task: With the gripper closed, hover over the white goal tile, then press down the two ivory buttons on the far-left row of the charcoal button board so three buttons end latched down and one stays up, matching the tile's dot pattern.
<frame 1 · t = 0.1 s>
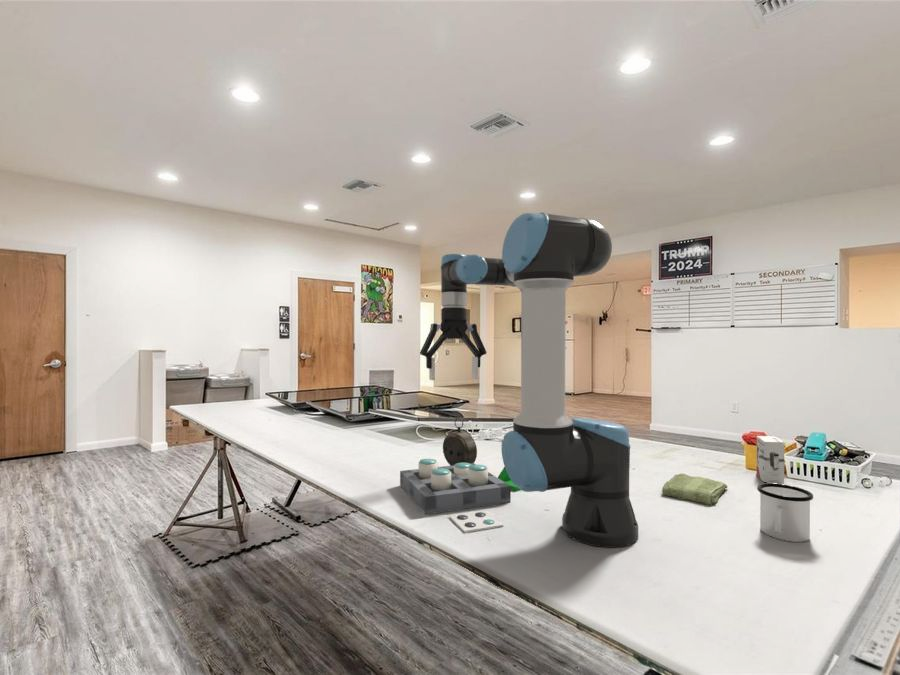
hand: (453, 379, 139), 28 cm above the table, fingers open, 13 cm apart
bracket: (521, 485, 130), on the table
button C: (478, 475, 119), point 5 cm above the table, slide at 0.0 cm
button A: (440, 479, 115), point 5 cm above the table, slide at 0.0 cm
washcloth: (693, 494, 124), on the table
white oval bin: (783, 536, 96), on the table
button B: (428, 469, 124), point 5 cm above the table, slide at 0.0 cm
button board: (452, 493, 122), on the table
goal tile: (475, 521, 103), on the table
ink box: (769, 480, 134), on the table
button D: (462, 472, 128), point 3 cm above the table, slide at -2.0 cm
alarm clock: (458, 472, 142), on the table
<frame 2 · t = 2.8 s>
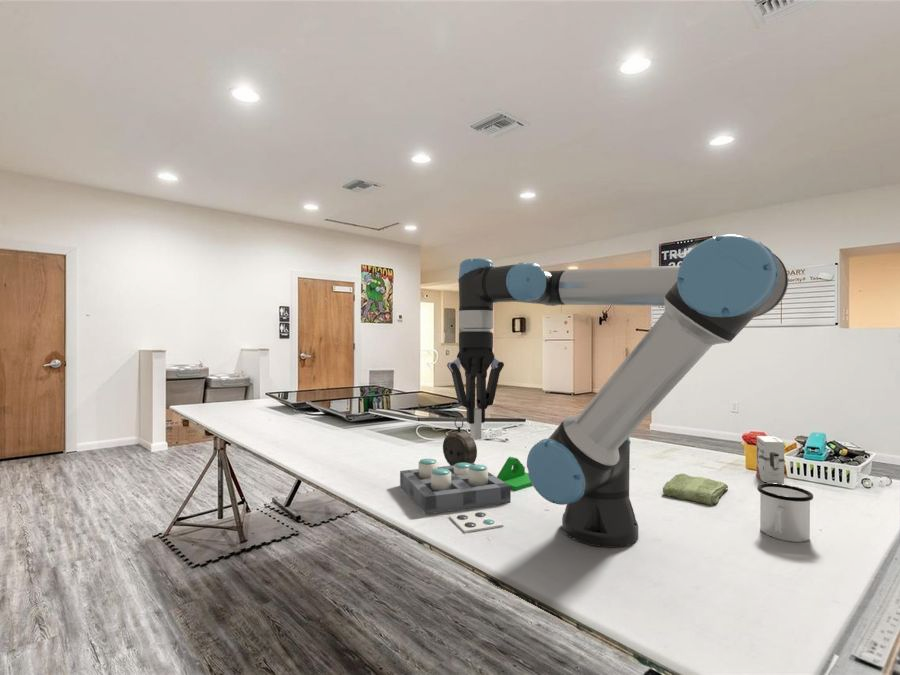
hand: (475, 438, 103), 18 cm above the table, fingers closed
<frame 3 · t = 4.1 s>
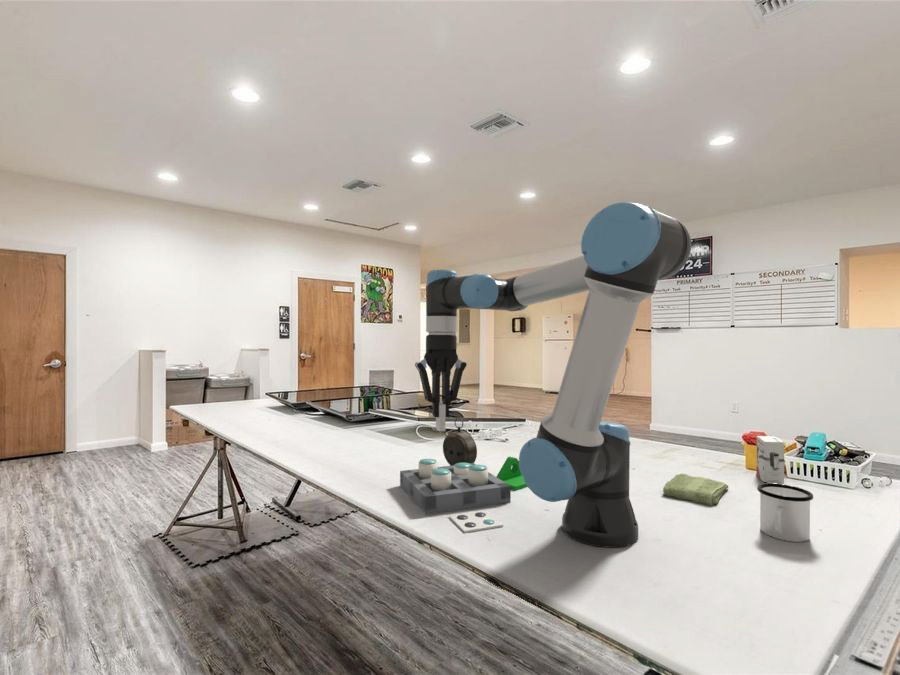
hand: (440, 430, 115), 18 cm above the table, fingers closed
nothing on the table moved.
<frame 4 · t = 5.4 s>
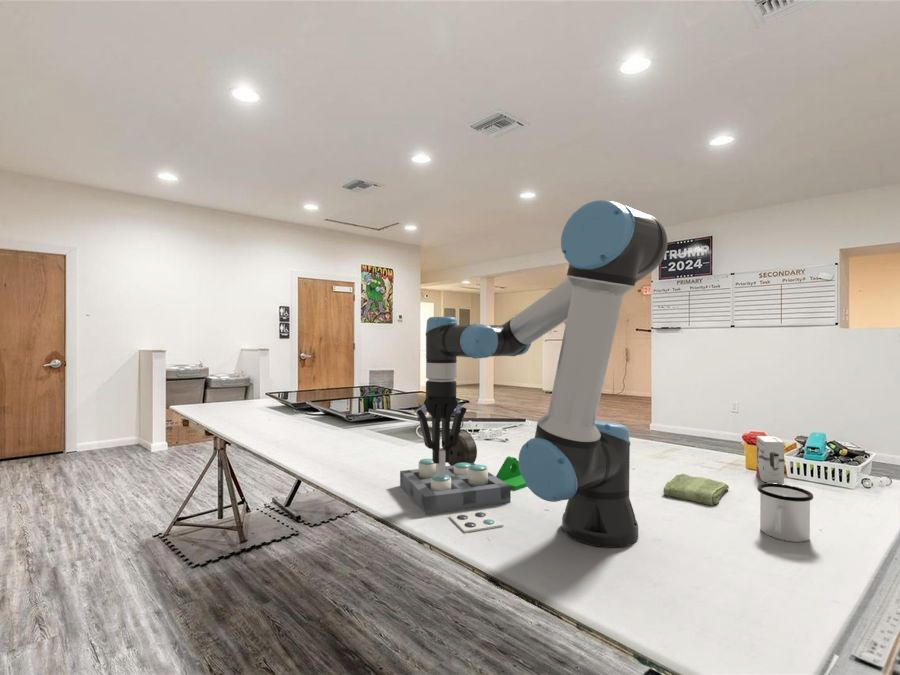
hand: (440, 475, 115), 6 cm above the table, fingers closed
button A: (440, 486, 115), point 4 cm above the table, slide at -1.5 cm, touching gripper
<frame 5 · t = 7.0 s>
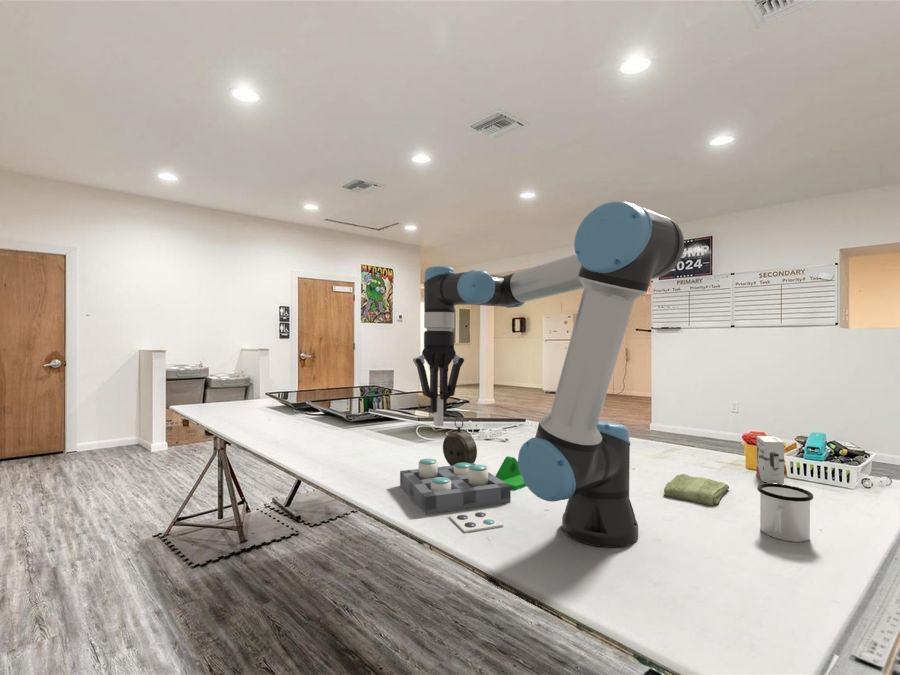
hand: (438, 425, 116), 19 cm above the table, fingers closed
button A: (440, 488, 115), point 3 cm above the table, slide at -2.2 cm
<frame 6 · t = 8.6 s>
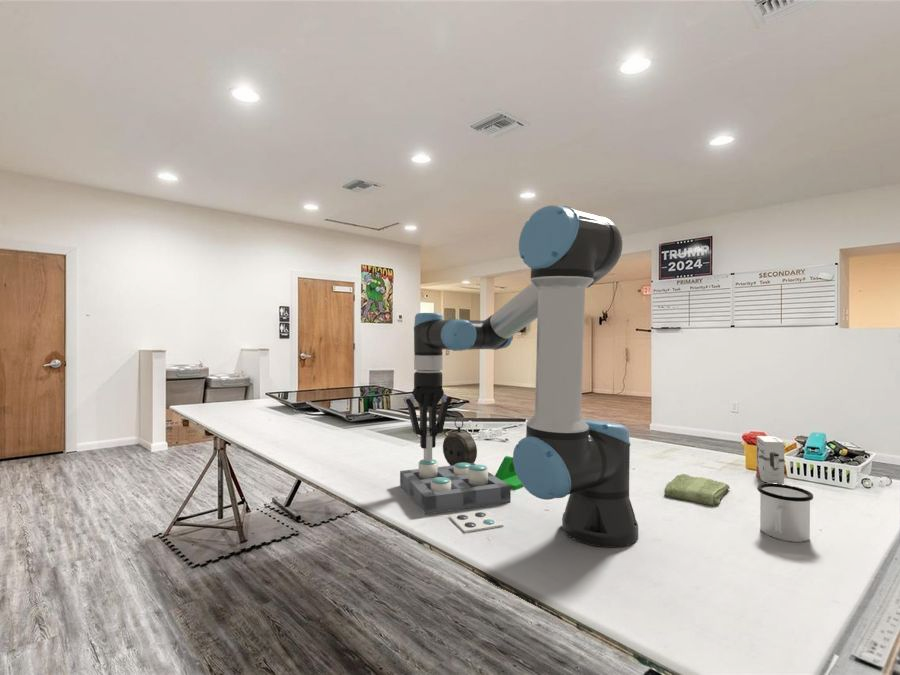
hand: (427, 460, 125), 8 cm above the table, fingers closed
button B: (428, 469, 124), point 5 cm above the table, slide at -0.1 cm, touching gripper
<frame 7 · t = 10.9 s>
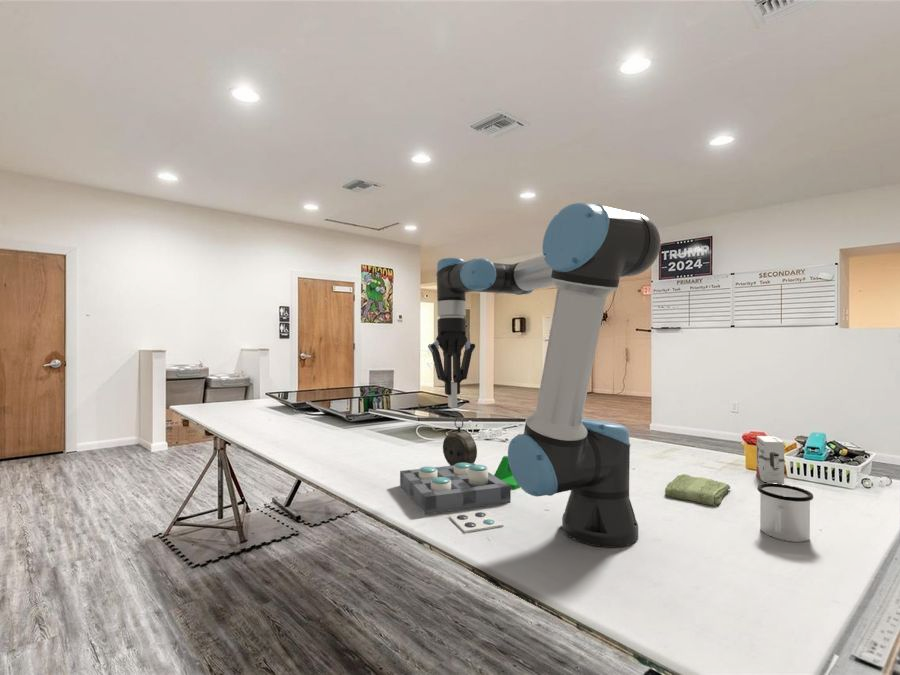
hand: (452, 407, 124), 22 cm above the table, fingers closed
button B: (428, 477, 124), point 3 cm above the table, slide at -2.1 cm
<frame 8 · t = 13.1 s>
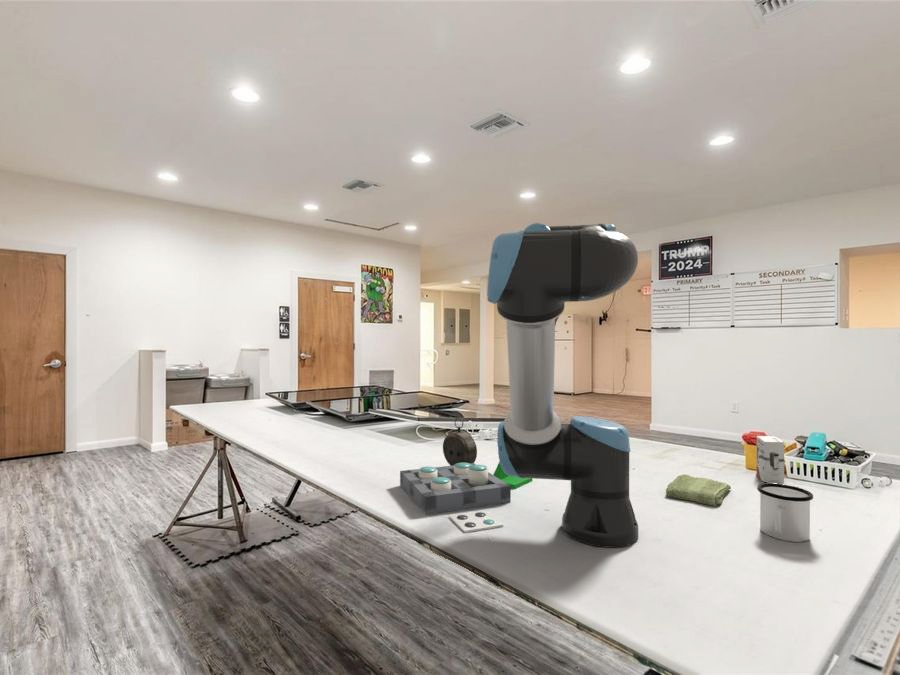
hand: (536, 375, 125), 30 cm above the table, fingers closed
at the end: button A slide at -2.2 cm; button B slide at -2.1 cm; button C slide at 0.0 cm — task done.
